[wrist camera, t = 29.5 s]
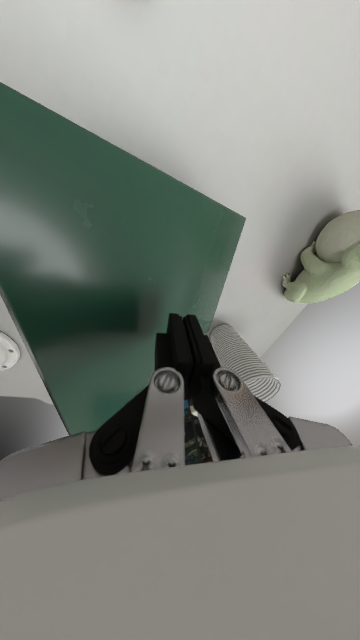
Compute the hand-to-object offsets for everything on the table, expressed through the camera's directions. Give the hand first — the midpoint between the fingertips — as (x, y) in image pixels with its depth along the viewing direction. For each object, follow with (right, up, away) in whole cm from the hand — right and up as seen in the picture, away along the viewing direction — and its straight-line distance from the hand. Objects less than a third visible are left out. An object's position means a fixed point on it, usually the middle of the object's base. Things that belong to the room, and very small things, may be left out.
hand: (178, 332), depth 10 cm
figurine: (+26, +13, +20) cm, 36 cm away
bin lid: (0, +2, +4) cm, 5 cm away
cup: (+10, -2, +28) cm, 30 cm away
